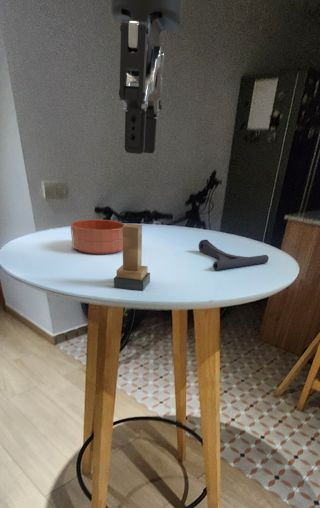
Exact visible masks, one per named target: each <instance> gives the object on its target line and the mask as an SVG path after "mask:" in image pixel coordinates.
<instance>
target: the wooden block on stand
mask: <svg viewBox="0 0 320 508" xmlns="http://www.w3.org/2000/svg"><path fill="white" fill-rule="evenodd" d="M124 224H125V225H124V226H122V231H123V249H122V264H121V266H119V268H117V269H116V276H114V277H113V288H116V289H127V290H133V291H134V290H135V291H144V290H145V289H146V288H147V286H148V285H149V283H150V282H151V272H148V268H149V267H148V265H143V264H142V257H143V255H142V252H143V243H142V242H143V224H140V223H139V224H138V223H124Z"/></svg>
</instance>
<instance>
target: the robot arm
mask: <svg viewBox="0 0 320 508" xmlns="http://www.w3.org/2000/svg"><path fill="white" fill-rule="evenodd" d="M183 5H184V0H110V12H111V15H112V17H113V19H114V20H115V21H116V22H118V23H119V24H120V26H119V27H120V28H119V31H120V51H119V52H120V57H119V89H118V96H119V100H120V101H121V102H122V107H123V110H125V111H124V120H125V121H124V150H125V152H126V153H128V154H135V155H142V154H153V153H155V151H156V141H157V140H156V138H157V125H158V119H159V115H160V114H161V110H162V108H163V105H162V98H163V97H162V96H163V78H164V69H165V68H164V67H165V59H166V55H165V51H164V50H162V46H161V39H160V34H161V33H162V32H163V31H166V32H167V31H172V30H175V29H177V28H178V27H179V26H180V25H181V22H182V18H183V17H182V16H183Z"/></svg>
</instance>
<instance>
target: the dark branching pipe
mask: <svg viewBox="0 0 320 508" xmlns="http://www.w3.org/2000/svg"><path fill="white" fill-rule="evenodd" d="M198 250H199V252H201V254H204V255H207V256H210V257H213V258H215V259H218V260H216V261H214V262H213V264H212V269H213V270H214V271H220V270H227V269H228V270H229V269H233V268H240V267H246V266H254V265H260V264H267V263H268V262H269V255H267V254H261V255H254V256H240V255H235V254H231V253H227V252H225V251H223V250H221V249H219V248H218V247H216V246H215V245H214V244H212V242H210V241H209V240H208V239H201V240H200V241H199V243H198Z"/></svg>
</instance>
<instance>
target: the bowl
mask: <svg viewBox="0 0 320 508" xmlns="http://www.w3.org/2000/svg"><path fill="white" fill-rule="evenodd" d="M125 224H126V223H123V222H121V221H118V220H110V219H80V220H76V221H75V220H74V221H73V222H71V223H70V224H69V225H70V226H69V227H70V238H71V246H72V247H73V248H74V249H76V250H77V251H79V252H81V253H84V254H89V255H90V254H91V255H111V254H116V253H117V254H118V253H120V252H121V251H122V252H123V231H122V226H124V225H125Z"/></svg>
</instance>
